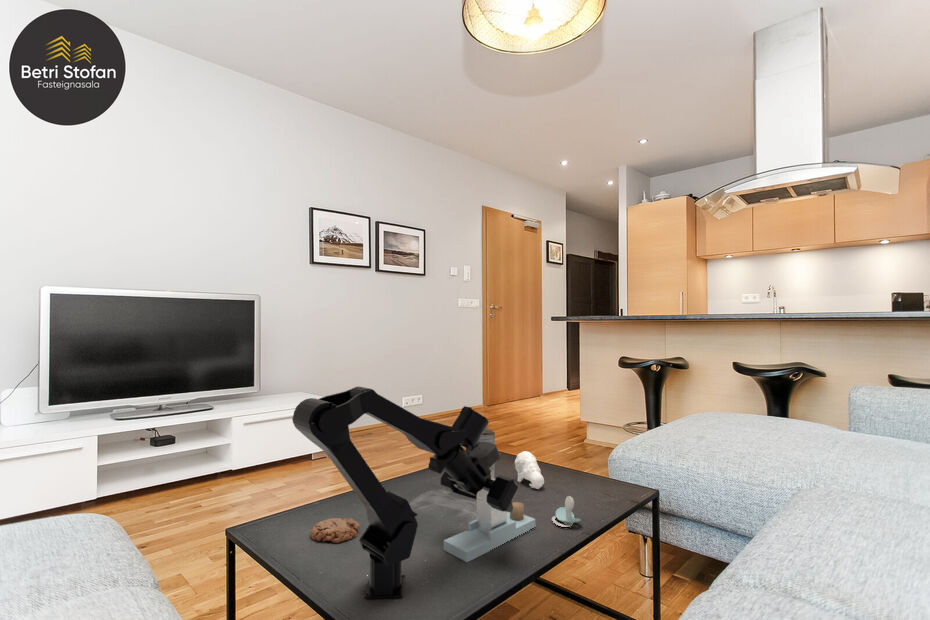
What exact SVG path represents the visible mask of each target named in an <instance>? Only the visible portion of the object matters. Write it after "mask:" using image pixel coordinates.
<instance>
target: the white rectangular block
mask: <svg viewBox="0 0 930 620" xmlns="http://www.w3.org/2000/svg"><path fill="white" fill-rule="evenodd" d="M495 479H496V478H495ZM495 479H492V480H495ZM488 492H489V491H487V490H484V489H482V490H480V491H478V493H477V500H476V519H477V530H479V531H481V532H483V533H485V534H488V532H489V531H491V530H493V529H495V528H498V527H500V526H502V525H504V524H506V523H507V512H506V511H504V512H503V511H500V510H497V509H494V508H492V507H491V506H490V505H489V504H488V503H487V494H488Z"/></svg>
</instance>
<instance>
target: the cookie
mask: <svg viewBox="0 0 930 620" xmlns="http://www.w3.org/2000/svg"><path fill="white" fill-rule="evenodd" d="M359 532H360V524H359V522H357V521H356V520H354V519H353V518H351V517H350V518H340V517H334V518H328V519H324V520H322V521H319V522H317V523H316V524H315V525H314V526H313V527H312V528H311V531H310V538H311V540H313V541H318V542H322V543H323V542H329V541H330V542H331V543H333V544H334V543H336V544H337V543H341V542H345V541H347V540H351V539H355V537H357V536H358V534H359Z"/></svg>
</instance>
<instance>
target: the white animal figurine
mask: <svg viewBox="0 0 930 620" xmlns="http://www.w3.org/2000/svg"><path fill="white" fill-rule="evenodd" d="M514 467H515V470H516V471H517V472H516V473H517V482H518V483H521V482H522V481H523V480H524V479H525V480H527V481H529V482H530V483H529V486H530V489H536V490H537V489H538V490H539V489H540V488H542V487H543V485H544V483H545V479H544V476H543V475H542V473H541V471H542V470H541V468H540V467H539V464H538V462H537V457H536V456H535V455H534V454H533V453H531V452H530V451H526V450H525V451H524V450H523V451H522V452H520V453H518V454H517V456H516V458H515V460H514Z"/></svg>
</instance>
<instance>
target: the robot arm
mask: <svg viewBox="0 0 930 620" xmlns="http://www.w3.org/2000/svg"><path fill="white" fill-rule="evenodd" d="M365 414H366V415H367V416H369V417H371V418H373V419H375V420H377V421H378V422H381V423H383V424H385V425H387V426H388V427H390V428H392V429H394V430H396V431H398V432H401V434H402V435H404V436H405V437H406V438H407V440H408V441H409V442H410V443H412V445H414V446H415V447H416V448H418V449H419V450H422V451H425V452H427V453H432V454H434V455H433V456H430V457H429V462H428V468H427V469H428V470H429V471H432V472H434V473H437V474H440V475H441V474H442V473H443V474H442V476H441V478H440V485H441V486H442V487H443V489H445V490H447V491H449V492H452V493H454V494H457V495H459V496H463V497H466V498H470V499H473V500H476V501H477V493H478V491H480V490H482V489H484V490H487V491H489V492H488V494H487V503H488V504H489V505H490V506H491V507H492V508H494V509H497V510H500V511H503V512H504V511H506V512H512V510H513V505H512V503H513V502H512V500H513V499H514V496H515V494H516V492H517V491H518V488H519V485H518V483H517V482H516V481H515V480H514V478H510V477H509V476H505V475H498V476H496V477H495V480H492V479H489V478H486V477H487V476H489V475H490V473H491V470H490V469H489V468H490V467H491V466H492V465H493V464H494V463H495V464H496V462H498V461H499V460H500V459H501V456H500V452H499V450H498V447H497V444H496V443H495V444H493V443H489V442H480V441H479V439H480V437H481V436H482V434H483V432H484V431H485V429H486V427H487V428H488V425H489V420H488V418H487V417H486V416H484V415H482V414H481V413H479V412H477V411H476V410H475V409H473V408H472V407H471V406H466V405H464V406H463V407H462V408H461V410H460V412H459V414H458V415H457V418H456V419H455V421H454V422H453V424H452V426H450V425H446V424H443V423H439V422H436V421H432V420H430V419H429V420H428V419H425V418H422V417H419V415H416V414H414V413H412V412H410V411H409V410H407V409H406V408H403V407H401V406H400V405H398V404H396V402H395V403H394V402H393V401H391V400H389V399H388V398H385V397H384V396H383V395H381V394H378V393H377V392H376V390H375V389H372V388H367V387H363V386H355V387H352V388H351V389H348V390H345V391H341V392H337V393H333V394H330V395H329V394H328V395H326V396H322V397H319V398H312V397H310V398H306V399H304V400H302V401H300V403H299V404H297V405H296V407H295V408H294V410H293V414H292V415H293V416H292V418H291V419H292V424H293V426H294V428H295V429H296V430H298V431H299V433H301V434H302V435H303V436H304V437H305V438H307V439H308V440H309V441H310V442H311V443H313V444H314V445H315V446H317V447H318V448H319V449H320V450H322V451H323V452H324V453H325V454H326V455H327V456H328V459H330V461H331V462H332V463H333V465H334V466H335V467H336V470H338V472H339V473H340V474H341V475H342V476H343V478H344V480H345V481H346V482H347V484H348V485H349V487H350V488H351V490H352V491H353V492H354V493H355V495H356V496H357V498H359V500H360V502H361V503H362V504H363V506H364V507H365V509H366V517H367V520H368V523H369V525H368V526H367V528H366V529H365V531H364V532H363V534H362V535H361V536H360V538H359V544H360V547H361V549H362V550H363V551H366V552H367V553H369V557H368V558H369V559H368V561H369V564H368V565H369V570H368V571H369V577H368V579H369V580H368V582H367V586H366V590H365V591H364V592H365V593H364V599H366V600H368V599H374V600H375V599H397V598H398V599H399V598H402V597H403V596H404V595H403V594H404V588H405V583H406V582H405V581H406V575H405V574H402V573H403V569H402V567H403V565H402V563H403V561H404V560H407V559H409V558H410V557H411V554H412V550H413V545H414V541H415V538H416V534H417V530H418V527H419V522H418V520H417V518H416V517H417V516H418V513H417V512H415V511H414V510H412V508H411V505H410V502H409V501H408V500H407V499H406V498H405V497H402V496H400V495H398V494H396V493H394V492H391V491H387V490H386V489H385V487H384V486H383V484H382V483H381V481H380V480H379V479H378V478H377V476H376V473H374V472H373V470H372V469H371V468H370V466H369V464H368V463H367V461H366V460H365V458H364V457H363V456H362V455H361V453H360V452H359V450H358V449H357V448H356V446H355V445H354V444H355V443H353V442H352V439H351V436H350V427H349V426H350V425H352V424H353V423H355V422H357V420H359V419H360V418H361V417H362V416H364V415H365ZM478 441H479V442H478ZM477 442H478V443H477ZM474 447H475V448H474Z"/></svg>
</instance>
